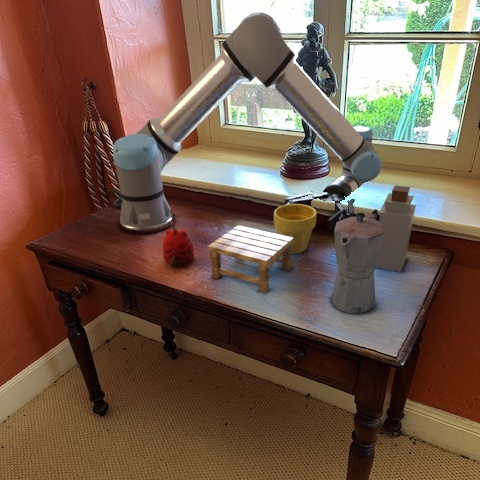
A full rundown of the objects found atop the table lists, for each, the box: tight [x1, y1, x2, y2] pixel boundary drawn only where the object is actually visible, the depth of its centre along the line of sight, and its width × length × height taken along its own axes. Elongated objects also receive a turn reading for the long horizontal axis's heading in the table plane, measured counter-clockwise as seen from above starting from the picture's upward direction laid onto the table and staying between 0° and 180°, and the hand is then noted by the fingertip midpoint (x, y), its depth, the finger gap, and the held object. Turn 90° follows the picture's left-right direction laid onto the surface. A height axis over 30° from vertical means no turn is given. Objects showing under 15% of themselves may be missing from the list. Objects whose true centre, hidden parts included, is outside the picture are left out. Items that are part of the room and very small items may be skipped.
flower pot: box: [273, 204, 317, 254], centre depth 114 cm, size 10×10×10 cm
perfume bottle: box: [374, 185, 417, 273], centre depth 103 cm, size 7×7×18 cm
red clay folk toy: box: [162, 208, 195, 269], centre depth 108 cm, size 8×7×15 cm
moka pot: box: [331, 208, 384, 314], centre depth 90 cm, size 10×15×20 cm, turn 146°
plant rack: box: [207, 224, 294, 293], centre depth 105 cm, size 15×13×8 cm
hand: (303, 220), depth 117 cm, fingers open, 13 cm apart
